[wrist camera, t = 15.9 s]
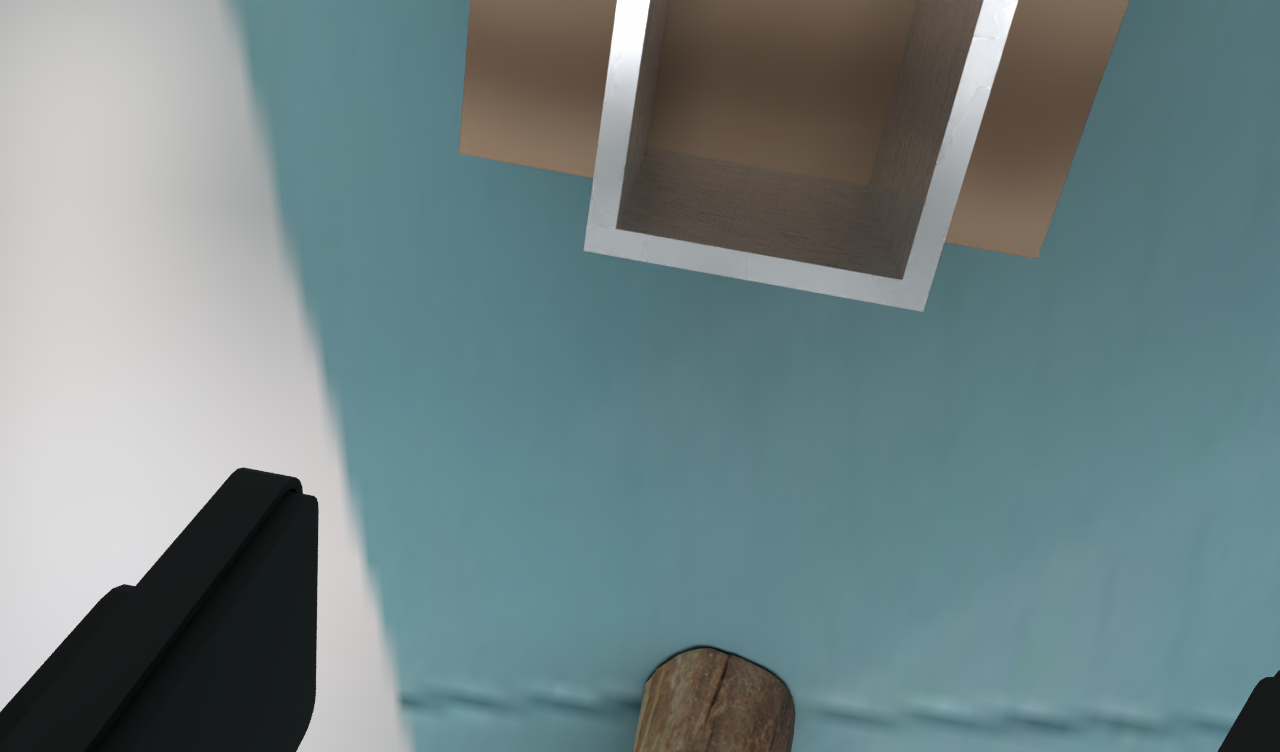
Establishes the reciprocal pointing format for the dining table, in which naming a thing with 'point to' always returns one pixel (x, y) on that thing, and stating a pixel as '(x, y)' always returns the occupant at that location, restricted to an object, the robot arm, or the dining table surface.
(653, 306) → the dining table surface
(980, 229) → the ledge
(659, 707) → the sculpture
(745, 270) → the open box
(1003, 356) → the dining table surface
